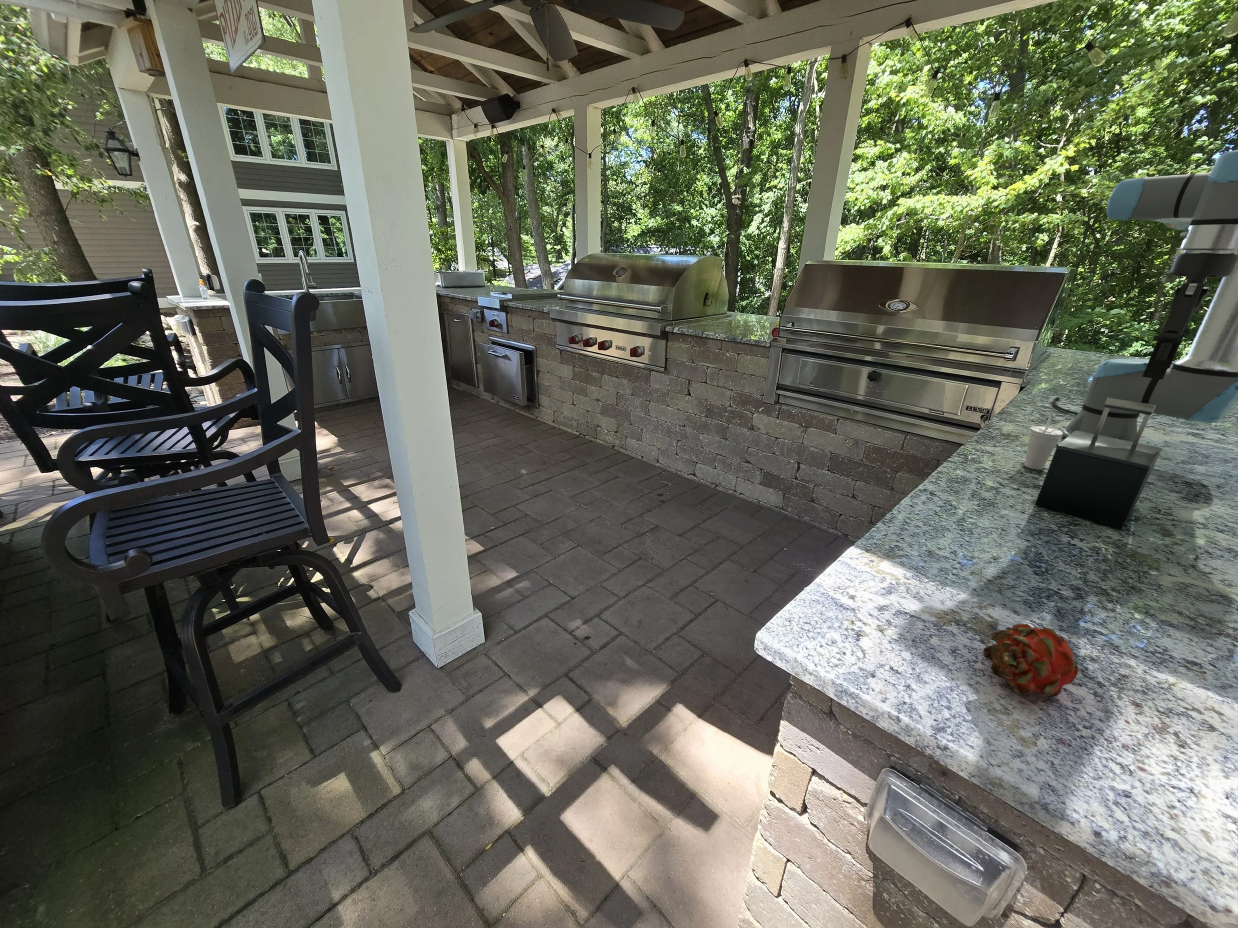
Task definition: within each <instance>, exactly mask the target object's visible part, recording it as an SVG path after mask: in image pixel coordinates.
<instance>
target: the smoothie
mask: <svg viewBox="0 0 1238 928" xmlns="http://www.w3.org/2000/svg"><path fill="white" fill-rule="evenodd" d="M1053 416H1054V412H1053V411H1051V412H1050V413H1049V416H1048V419H1047V421H1046V424H1045V426H1042V425H1041V426H1040V425H1035V426H1034V425H1033V426H1030V428H1029V430H1028V433H1029V437H1028V442H1027V447H1026V453H1025V458H1024V459H1025V460H1024V464H1023V465H1024V467H1025V468H1028V469H1032V470H1037V471H1041V470H1043V469H1044V467H1045V466H1046V464H1047V462H1048V460H1049V458H1050V457H1051V455H1052V453H1053V452H1054V450H1055V448H1056V447H1057V445H1058V442H1059V440H1060V439H1062V438H1063V433H1064V431H1061V429H1060V430H1059V429H1056V428H1053V427H1050V424H1051V421H1052V418H1053Z"/></svg>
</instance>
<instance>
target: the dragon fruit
mask: <svg viewBox="0 0 1238 928" xmlns="http://www.w3.org/2000/svg"><path fill="white" fill-rule="evenodd" d="M990 636H991V638H992V640H993V641H994V642H995V643H993V644H991V645H989V646H987V647H984V648H983V657H984V659H988V660H989V661H990V662H991V666H990V669H991V672H992V673H993V675H994V676H996V677H998V678H1000V679H1002V680H1004V681H1005V682H1006V683H1007V684H1008V685H1010V686H1011V687H1012V692H1015V693H1017V694H1020V695H1029V694H1032V693H1033V692H1034V691H1035V692H1037V693H1038V694H1040V695H1047V697H1048V698H1056V697H1057V696H1059V695H1061V693H1062V690H1063V687H1064V686H1066V685H1069V684H1071V683H1073V682H1074V680H1075V679H1076V677H1077V676H1078V674H1079V666H1078V664H1077V661H1076V660H1075V659H1074V657H1075V656H1074V653H1073V651H1072V649H1071V647H1070V645H1069V642H1068V641H1067V640H1066V639H1065V638H1064V636H1063V635H1059V634H1058V633H1057V632H1055V630H1053V629H1052V628H1050V627H1042V628H1039V627H1037V626H1035V627H1032V626H1031V625H1029V623H1016V624H1013V625H1012V626H1011V627H1006V628H1005V629H997V630H994V631H993V632H991V634H990Z"/></svg>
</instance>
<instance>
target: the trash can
mask: <svg viewBox="0 0 1238 928" xmlns="http://www.w3.org/2000/svg"><path fill="white" fill-rule="evenodd" d="M1054 450H1055V451H1054V453H1053V456H1052V459H1051V460H1050V464H1049V467H1048V469H1047V471H1046V475H1045V476H1044V480H1043V482H1042V485H1041V487H1040V490H1039V493H1038V495H1037V498H1036V501H1035V502H1034V503H1035V506H1039V507H1042V508H1044V509H1048V510H1052V511H1055V512H1057V513H1061V514H1065V515H1068V516H1072V517H1076V518H1078V519H1082V520H1084V521H1088V522H1091V523H1095V524H1098V525H1102V526H1104V527H1108V528H1111V529H1115V530H1118V531H1122V529H1123V528H1124V526H1125V525H1126V522H1127V521H1128V520H1129V518H1130V517H1131V514H1132V512H1133V511H1134V509H1135V507H1136V505H1137V503H1138V501H1139V499H1140V496H1141V494H1142V492H1143V490H1144V488H1145V486H1146V484H1147V482H1148V480H1149V478H1150V475H1151V473H1152V471H1153V469H1154V468H1155V467H1154V466H1155V465H1156V463H1157V460H1158V459H1159V456H1160V454H1159V455H1158V457H1157V458H1156V460H1155V461H1154V463H1153V464H1152V466H1151V468H1150V469H1149V470H1147V469H1142V468H1138V467H1134V466H1129V465H1125V464H1121V463H1116V462H1112V461H1108V460H1103V459H1099V458H1095V457H1090V456H1086V455H1082V454H1077V453H1073V452H1069V451H1064V450H1060V449H1054Z"/></svg>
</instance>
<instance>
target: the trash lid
mask: <svg viewBox="0 0 1238 928" xmlns="http://www.w3.org/2000/svg"><path fill="white" fill-rule="evenodd" d="M1104 407H1105V409H1104V411H1103V414H1102V416H1101V418H1100V421H1099V423H1098V426H1097V428H1096V431H1095V433H1094V434H1091V433H1086V432H1081V431H1076V430H1075V431H1074V432H1073V433H1072V434H1070V435H1069V436H1068V437H1067V438H1064V439H1062V441H1061V442H1059V443H1057V444H1056V447H1055V448H1056V449H1060V450H1064V451H1069V452H1073V453H1077V454H1082V455H1086V456H1090V457H1095V458H1099V459H1103V460H1108V461H1112V462H1116V463H1121V464H1125V465H1129V466H1134V467H1138V468H1142V469H1147V470H1149V469H1150V468H1151V466H1152V464H1153V463H1154V461H1155V460H1156V458H1157V457H1158V458H1159V456H1160V454H1161V452H1162V450H1163V447H1159V446H1154V445H1150V444H1145V443H1139V442H1140V440H1141V437H1142V435H1143V433H1144V431H1145V429H1146V427H1147V425H1148V422H1149V420H1150V417H1151V416H1152V415H1153V411H1154V409H1155V407H1156V405H1150V404H1144V403H1138V402H1132V401H1126V400H1119V399H1113V398H1108V399H1107V400H1106V403H1105V405H1104ZM1110 408H1111V409H1117V410H1123V411H1129V412H1135V413H1140V414H1141V415H1144V417H1143V419H1142V421H1141V423H1140V426H1139V428H1138V429H1137V434H1136V437H1135V439H1134V441H1133V442H1130V441H1125V440H1120V439H1116V438H1111V437H1106V436H1101V435H1099V434H1100V431H1101V429H1102V426H1103V424H1104V421H1105V419H1106V416H1107V414H1108V412H1109V409H1110ZM1140 414H1139V415H1140ZM1056 449H1055V450H1056ZM1158 455H1159V456H1158ZM1158 458H1157V459H1158ZM1156 461H1157V460H1156Z"/></svg>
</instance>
